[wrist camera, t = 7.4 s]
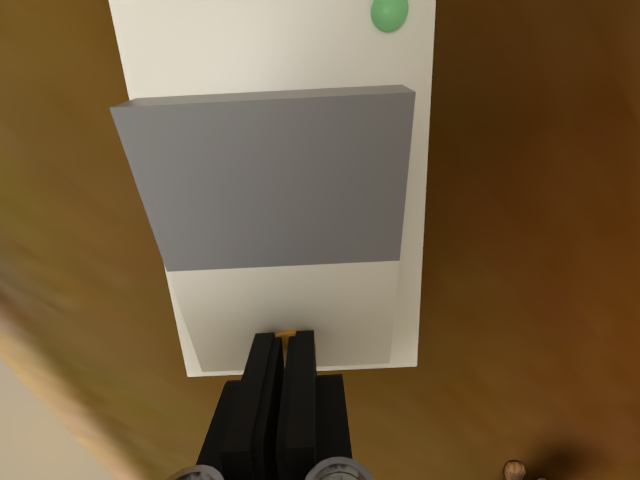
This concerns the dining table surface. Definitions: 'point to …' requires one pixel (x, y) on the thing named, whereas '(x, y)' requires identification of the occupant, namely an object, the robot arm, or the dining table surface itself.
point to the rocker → (277, 214)
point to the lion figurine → (515, 471)
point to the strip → (293, 74)
